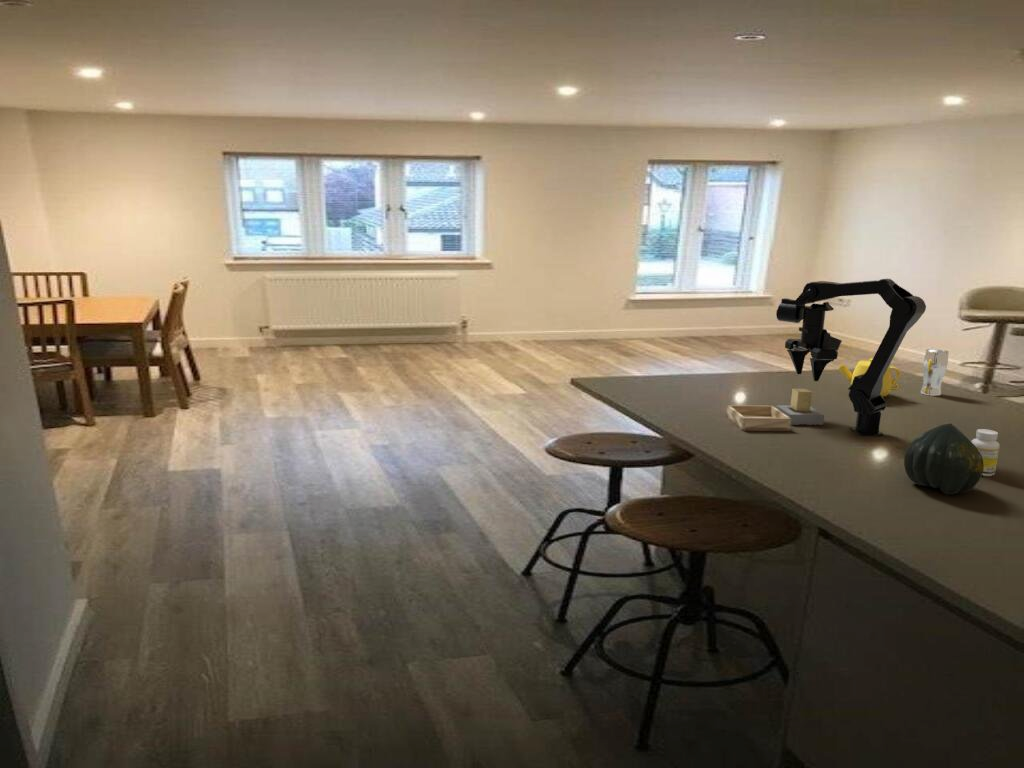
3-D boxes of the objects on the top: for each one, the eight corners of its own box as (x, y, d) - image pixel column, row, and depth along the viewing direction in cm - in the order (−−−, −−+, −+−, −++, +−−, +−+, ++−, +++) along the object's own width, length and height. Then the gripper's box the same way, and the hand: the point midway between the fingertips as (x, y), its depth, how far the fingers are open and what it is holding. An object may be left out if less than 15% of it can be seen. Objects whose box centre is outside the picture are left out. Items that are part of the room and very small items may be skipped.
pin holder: (823, 424, 204) (824, 414, 203) (789, 424, 204) (790, 414, 203) (807, 415, 214) (808, 405, 213) (775, 414, 213) (776, 405, 212)
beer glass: (914, 392, 244) (921, 349, 240) (927, 390, 247) (934, 348, 243) (933, 397, 238) (940, 353, 234) (946, 395, 240) (954, 352, 237)
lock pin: (808, 421, 207) (811, 392, 205) (794, 421, 207) (798, 391, 204) (802, 417, 211) (805, 388, 208) (789, 417, 210) (792, 388, 208)
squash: (933, 479, 148) (979, 424, 148) (879, 458, 162) (921, 408, 162) (968, 517, 152) (1011, 464, 153) (912, 493, 166) (952, 444, 167)
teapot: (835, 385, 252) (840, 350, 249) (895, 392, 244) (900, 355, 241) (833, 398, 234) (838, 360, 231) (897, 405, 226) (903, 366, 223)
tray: (790, 430, 198) (791, 418, 197) (742, 430, 197) (743, 418, 196) (770, 416, 211) (772, 405, 210) (725, 416, 210) (726, 405, 210)
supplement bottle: (967, 466, 172) (975, 426, 169) (995, 472, 168) (1003, 431, 166) (964, 472, 167) (971, 431, 165) (992, 478, 164) (1000, 436, 162)
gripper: (858, 329, 197) (851, 384, 200) (820, 320, 215) (815, 370, 218) (821, 330, 195) (815, 385, 199) (786, 320, 213) (781, 371, 217)
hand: (807, 377), depth 208 cm, fingers open, 9 cm apart
